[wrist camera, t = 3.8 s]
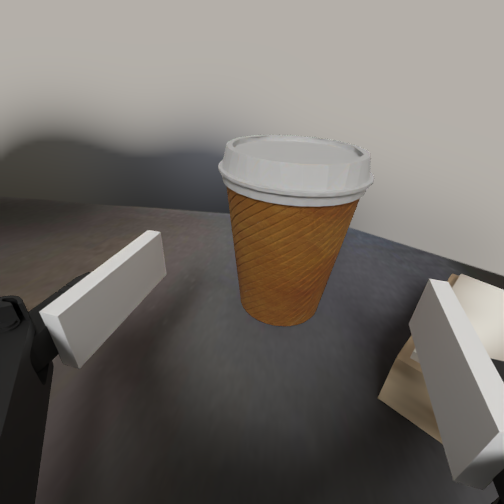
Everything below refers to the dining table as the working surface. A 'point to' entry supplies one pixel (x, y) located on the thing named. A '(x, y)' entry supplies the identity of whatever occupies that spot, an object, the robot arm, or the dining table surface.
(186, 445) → the dining table surface
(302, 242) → the disposable coffee cup
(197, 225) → the dining table surface
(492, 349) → the plinth
